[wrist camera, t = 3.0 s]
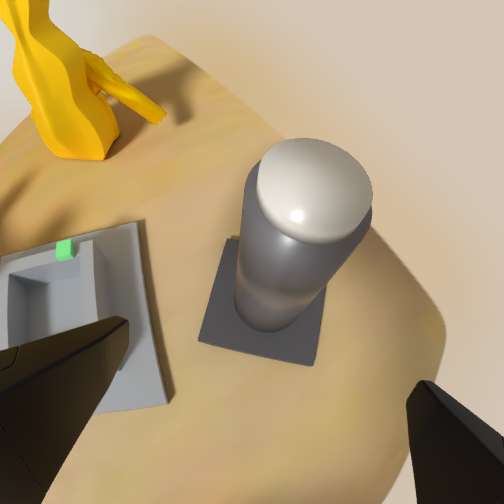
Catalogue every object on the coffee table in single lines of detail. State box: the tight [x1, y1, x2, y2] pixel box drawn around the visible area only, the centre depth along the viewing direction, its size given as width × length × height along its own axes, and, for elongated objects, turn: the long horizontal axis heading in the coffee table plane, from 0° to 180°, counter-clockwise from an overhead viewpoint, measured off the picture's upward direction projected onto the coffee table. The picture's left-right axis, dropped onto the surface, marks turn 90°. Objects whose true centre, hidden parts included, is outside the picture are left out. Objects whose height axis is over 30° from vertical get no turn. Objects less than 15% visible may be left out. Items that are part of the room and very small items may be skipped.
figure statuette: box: [0, 0, 167, 161], centre depth 18 cm, size 18×8×22 cm, turn 81°
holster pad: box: [198, 238, 326, 366], centre depth 22 cm, size 8×8×1 cm
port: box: [0, 222, 169, 414], centre depth 18 cm, size 14×14×4 cm
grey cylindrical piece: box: [234, 138, 373, 333], centre depth 16 cm, size 5×5×13 cm
